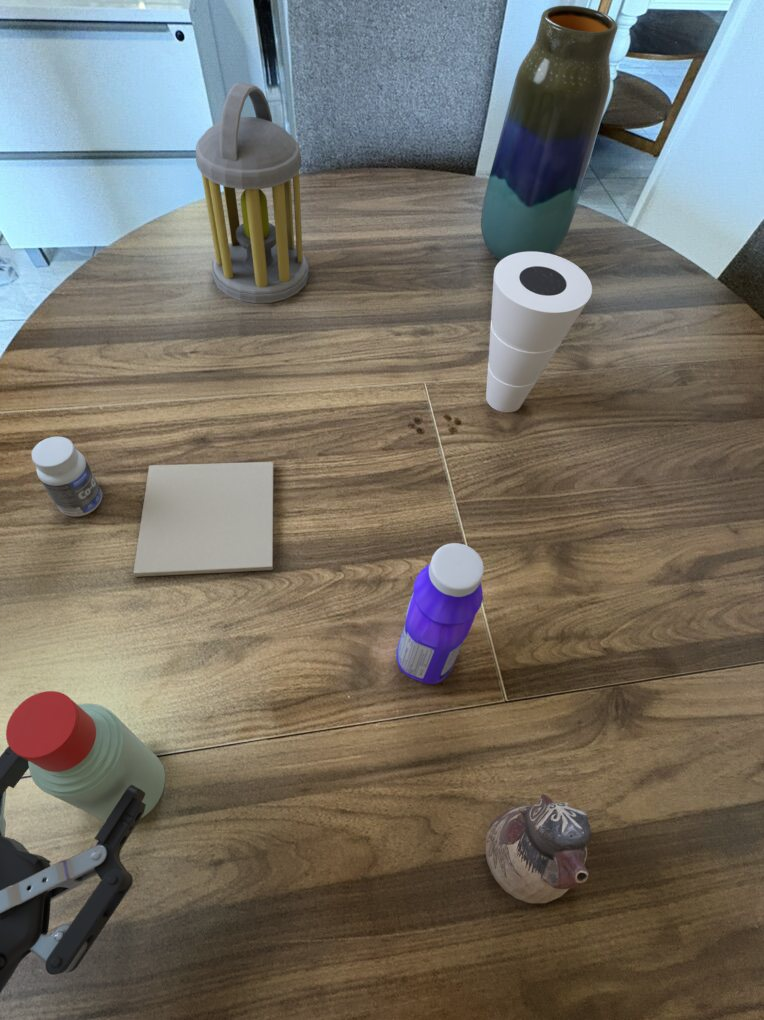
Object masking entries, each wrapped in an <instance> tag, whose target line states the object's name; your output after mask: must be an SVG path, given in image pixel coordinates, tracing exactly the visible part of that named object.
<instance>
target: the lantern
mask: <svg viewBox="0 0 764 1020" xmlns="http://www.w3.org/2000/svg"><path fill="white" fill-rule="evenodd" d="M248 97H249V98H250V101H251V104H252V108H253V111H254V115H255V116H242V112H243V108H244V105H245V103H246V100H247V98H248ZM195 162H196V167H197V169H198V171H199V172H200V174H201V177H202V184H203V185H202V186H203V191H204V197H205V203H206V208H207V213H208V220H209V225H210V231H211V238H212V243H213V249H214V255H215V257H214V259H213V260H212V261H211V262H212V276H213V281H214V282H215V284H216V286H217V288H218V289H219V290H220V291H222V292H223V293H224V294H225V295H227V296H228V297H231V298H233V299H235V300H237V301H240V302H244V303H245V302H246V303H251V304H266V303H267V304H269V303H270V304H272V303H275V302H279V301H283V300H287V299H289V298H291V297H293V296H294V295H296V294H298V293H299V292H301V290H302V289H304V287H306V284H307V282H308V280H309V277H310V275H309V271H310V270H309V263H308V259H307V257H306V255H305V254H304V253H303V232H302V211H301V209H302V208H301V207H302V206H301V188H300V187H301V185H300V184H301V183H300V170H301V168H302V155H301V149H300V145H299V143H298V141H297V140H296V138H295V137H294V136H293V135H292V134H290V133H289V132H288V131H287V130H286V129H284V128H283V127H282V126H280V125H278V124H276V123H275V122H273V117H272V113H271V108H270V105H269V102H268V100H267V97H266V95H265V93H264V91H263V90H262V89H261V88H259V87H258V86H257V85H255V84H252V83H247V82H244V81H242V82H241V81H240V82H238V83H234V84H233V85H232V86H231V87H230V90H229V91H228V92H227V94H226V97H225V101H224V104H223V107H222V111H221V119H220V121H219V122H217V123H215V124H214V125H212V126H210V127H209V128H207V130H205V132H204V133H203V134H202V135H200V138H199V139H198V141H196V145H195ZM221 186H222V188H223V196H224V200H225V201H224V202H225V209H226V216H227V221H228V222H227V224H228V230H229V236H230V243H229V237H228V231H227V224H226V217H225V211H224V204H223V196H222V191H221ZM292 187H293V188H292ZM269 188H271V192H272V206H273V217H274V219H273V220H274V224H272V223H270V221H269V211H268V210H269V209H268V199H267V196H266V194H265V192H264V191H262V190H265V189H269ZM236 189H238V190H243V191H242V193H241V195H240V207H241V216H242V223H241V224H240V217H239V209H238V200H237V195H236ZM292 189H293V196H292ZM292 197H293V198H292ZM293 207H294V208H293ZM293 209H294V215H293ZM293 217H294V218H293ZM294 225H295V227H294ZM294 229H295V236H294Z"/></svg>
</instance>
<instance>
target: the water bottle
mask: <svg viewBox="0 0 764 1020" xmlns="http://www.w3.org/2000/svg"><path fill="white" fill-rule="evenodd" d="M77 705H78V706H79V707H80V708H82V709H83V710H84V711H85V712H86V713H87V714H88V715H89V716H90V717H91V718H92V719H93V721H94V723H95V726H96V738H95V742H94V745H93V747H92V749H91V751H90V752H89V754H88V755H87V756H86V758H85V759H84V760H83V761H81V762H80V763H79V764H77V765H76V766H74V767H72V768H70V769H68V770H65V771H60V772H51V771H47V770H44V769H42V768H40V767H39V766H37V765H35V764H33V763H31V762H30V761H28V765H29V768H28V771H29V774H30V777H31V779H32V781H33V782H34V784H35V785H36V787H38V788H39V789H40V790H41V791H43V792H44V793H45V794H47V795H50V796H52V797H54V798H56V799H59V800H61V801H62V802H64V803H67V804H69V805H71V806H73V807H75V808H77V809H79V810H81V811H83V812H86V813H88V814H90V815H92V816H94V817H96V818H98V819H100V820H102V821H104V822H106V820H107V818H108V817H109V815H110V814H111V812H112V811H113V809H114V808H115V806H116V805H117V803H118V802H119V800H120V799H121V797H122V796H123V794H124V793H125V791H126V790H127V788H128V787H129V786H130V785H134V786H135V787H137V788H139V789H141V790H142V791H144V792H145V796H144V799H143V800H142V802H143V803H144V804H146V806H145V810H144V813H143V815H142V817H141V818H140V820H142V819H143V818H145V817H146V816H147V815H148V814H149V813H150V812H152V811H153V809H154V808H155V807H156V806H157V804H158V803H159V801H160V799H161V797H162V795H163V793H164V789H165V784H166V773H165V769H164V765H163V762H162V761H161V759H160V758H159V757H158V756H157V755H156V754H155V753H154V752H153V751H152V750H151V749H150V748H149V747H148V746H147V745H146V744H145V743H144V742H143V741H142V740H141V739H140V738H139V737H138V736H137V735H136V734H135V733H134V732H133V731H132V730H131V729H130V728H129V727H128V726H126V724H125V723H124V722H123V721H122V720H120V718H119V717H118V716H117V715H116V714H114V712H112V711H111V710H110V709H108V708H107V707H105V706H103V705H99V704H96V703H95V704H94V703H80V704H77Z"/></svg>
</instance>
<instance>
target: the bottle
mask: <svg viewBox="0 0 764 1020" xmlns="http://www.w3.org/2000/svg"><path fill="white" fill-rule="evenodd" d="M484 573H485V567H484V562H483V559H482V557H481V556H480V555H479V553H478V552H477V551H476V550H475V549H473V548H472V547H470V546H469V545H466V544H463V543H458V542H452V543H447V544H444V545H442V546H440V547H439V548H438V549H436V551H435V552H433V554H432V557H431V559H430V563H429V564H427V565H426V566H425V567H424V568H423V569H421V570H420V572H419V573H418V574H417V575H416V578H415V580H414V583H413V592H412V594H411V597H410V599H409V602H408V605H407V610H406V616H405V622H404V626H403V629H402V632H401V635H400V638H399V640H398V644H397V647H396V663H397V666H398V668H399V670H400V672H402V674H404V675H405V676H406V677H407V678H410V679H412V680H414V681H417V682H420V683H422V684H426V685H435V684H439V683H441V682H442V681H444V680H445V679H446V678H447V677H448V676H449V674H450V673H451V671H452V670H453V668H454V665H455V663H456V660H457V659H458V654H459V652H460V651H461V648H462V646H463V643H464V641H465V640H466V638H467V637H468V634H469V632H470V630H471V629H472V626H473V623H474V621H475V617H476V615H477V613H478V612H479V610H480V608H481V606H482V604H483V600H484V595H483V594H484V593H483V592H484V591H483V587H482V583H481V582H482V579H483V577H484Z"/></svg>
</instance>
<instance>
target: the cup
mask: <svg viewBox="0 0 764 1020" xmlns="http://www.w3.org/2000/svg"><path fill="white" fill-rule="evenodd" d="M492 282H493V283H492V298H491V313H490V330H489V347H488V348H489V349H488V363H487V374H486V375H487V377H486V391H485V400H486V402H487V404H488V405H489V407H491V409H493V410H495V411H497V412H500V413H507V414H508V413H514V412H516V411H518V410H520V408H521V407H522V406H523V404H524V403H525V401H526V399H527V398H528V396H529V394H530V392H531V391H532V390H533V388H534V387H535V385H536V383H537V381H538V380H539V378H540V376H541V375H542V373H544V370H545V369H546V367H547V366H548V364H549V363H550V362H551V359H552V358H553V357H554V355H555V354H556V352H557V350H558V349H559V347H560V345H561V344H562V343H563V341H564V339H565V338H566V337H567V335H568V334H569V332H570V330H571V329H572V327H573V326H574V324H575V322H576V321H577V319H578V317H579V316H580V315H581V313H582V312H583V310H584V308H585V306H586V305H587V304H588V302H589V300H591V296H592V293H593V286H592V282H591V280H590V278H589V276H588V275H587V273H586V272H585V271H584V270H583V269H581V267H579V266H578V265H576V264H575V263H574V262H572V261H570V260H569V259H566V258H564V257H561V256H559V255H556V254H554V253H553V254H549V253H543V252H520V253H515V254H512V255H509V256H507V257H505V258H504V259H502V260H501V261H500V260H499V262H498V263H497V264H496V266H495V268H494V271H493V281H492Z"/></svg>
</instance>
